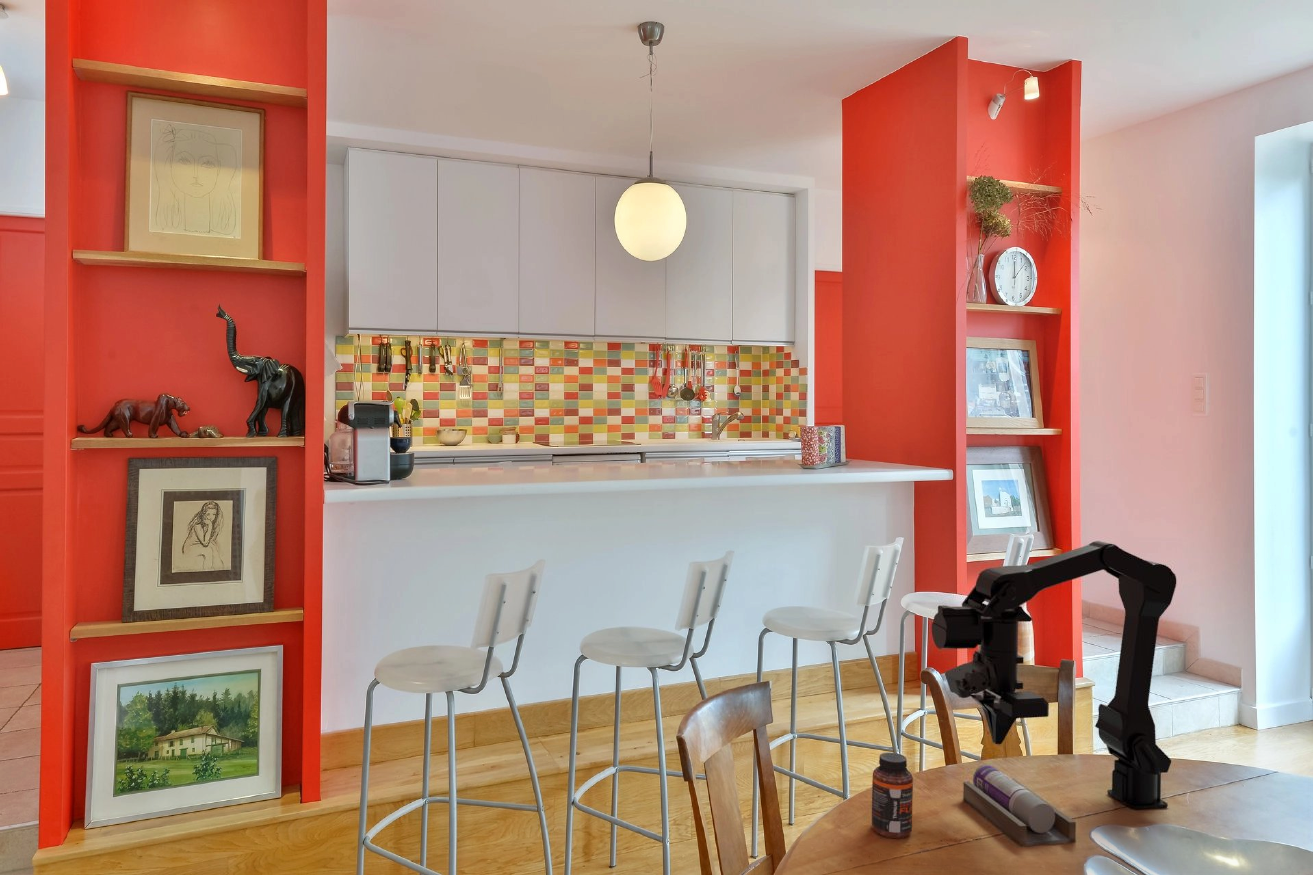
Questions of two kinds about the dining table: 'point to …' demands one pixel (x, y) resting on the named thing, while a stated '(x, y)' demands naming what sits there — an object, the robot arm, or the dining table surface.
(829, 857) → the dining table surface
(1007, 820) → the cradle
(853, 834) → the dining table surface
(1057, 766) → the dining table surface
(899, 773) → the supplement bottle
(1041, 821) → the container
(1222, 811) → the dining table surface
